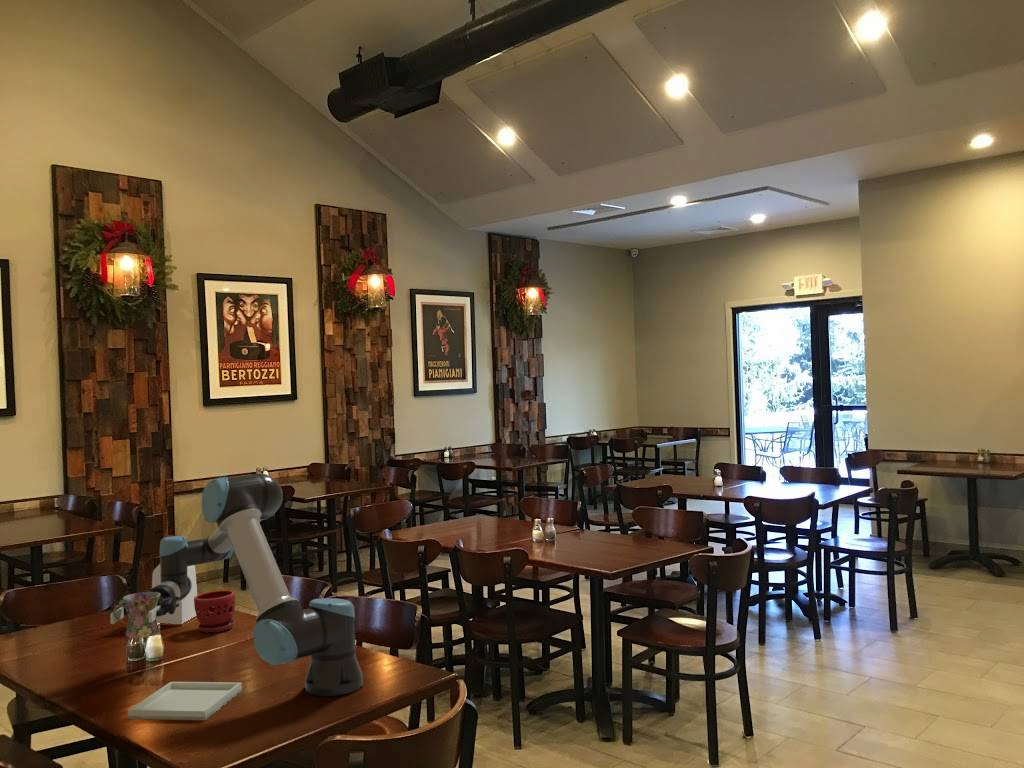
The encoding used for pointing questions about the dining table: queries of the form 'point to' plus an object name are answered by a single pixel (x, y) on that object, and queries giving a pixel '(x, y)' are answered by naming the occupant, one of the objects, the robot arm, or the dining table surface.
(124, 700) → the dining table surface
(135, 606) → the mug
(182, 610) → the milk
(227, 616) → the plant pot
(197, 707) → the tray
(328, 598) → the robot arm
